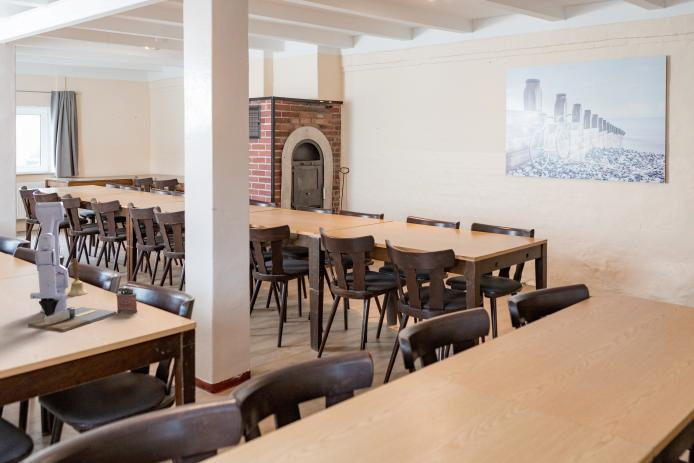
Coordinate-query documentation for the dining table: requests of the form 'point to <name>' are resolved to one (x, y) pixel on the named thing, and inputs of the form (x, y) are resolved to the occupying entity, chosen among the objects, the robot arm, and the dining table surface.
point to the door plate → (92, 314)
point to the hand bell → (76, 282)
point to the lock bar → (60, 316)
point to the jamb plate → (60, 324)
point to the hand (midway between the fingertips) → (50, 318)
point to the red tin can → (126, 301)
